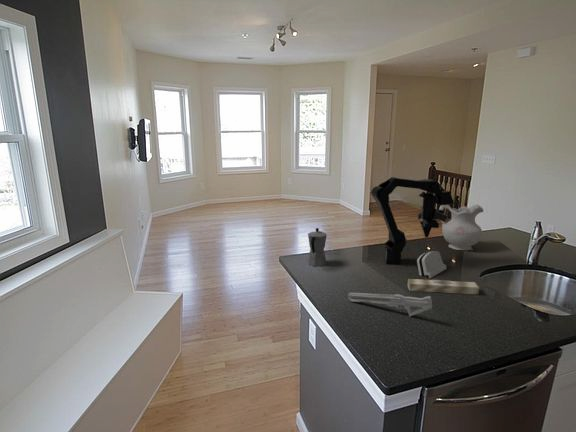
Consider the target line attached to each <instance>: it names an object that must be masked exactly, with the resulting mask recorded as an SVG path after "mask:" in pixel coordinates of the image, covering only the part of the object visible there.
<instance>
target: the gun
mask: <svg viewBox="0 0 576 432" xmlns="http://www.w3.org/2000/svg"><path fill="white" fill-rule="evenodd" d="M347 297H348V298H347V299H348V300H350V302H352V303H362V302H365V303H370V304H378V305H379V304H380V305H386V306H387V307H392V308H396V309H401V310H402V309H403V310H406V311H407V313H408V317H410V318H411V317H412V316H415V315H418V314H421V313H424V312H425V311H428V310H432V308H433V302H432V296H431V295H428V296H424V297H413V296H405V295H403V294H398V293H395V294H392V293H391V294H387V293H385V294H383V293H367V292H365V293H364V292H363V293H362V292H351V291H350V292H349V293H348V294H347ZM411 307H413V308H417V309H414V310H412V308H411Z"/></svg>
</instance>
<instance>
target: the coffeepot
mask: <svg viewBox="0 0 576 432" xmlns="http://www.w3.org/2000/svg"><path fill="white" fill-rule="evenodd" d="M307 236H308V244H309V248H310V249H309V252H308V253H309V254H308V258H307V260H308V261H307V262H308V265H309V266H311V265H312V266H311V267H315V266H320V267H324V266H325V265H327V260H326V254H325V248H326V243H327V236H328V235H327V233H326V232H324V231H320V228H319V227H315V231H311V232H307ZM323 265H324V266H323Z"/></svg>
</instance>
